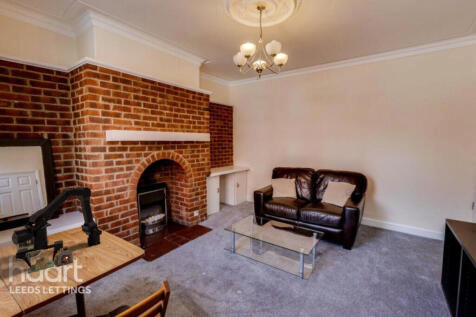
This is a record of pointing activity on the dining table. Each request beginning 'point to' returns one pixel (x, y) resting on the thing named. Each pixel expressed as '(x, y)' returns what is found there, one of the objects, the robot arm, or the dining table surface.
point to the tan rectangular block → (41, 263)
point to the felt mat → (50, 264)
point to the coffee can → (28, 245)
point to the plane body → (65, 257)
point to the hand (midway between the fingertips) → (42, 263)
